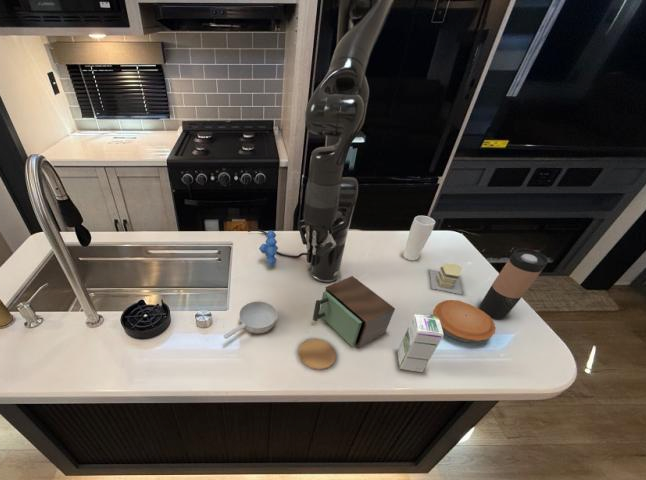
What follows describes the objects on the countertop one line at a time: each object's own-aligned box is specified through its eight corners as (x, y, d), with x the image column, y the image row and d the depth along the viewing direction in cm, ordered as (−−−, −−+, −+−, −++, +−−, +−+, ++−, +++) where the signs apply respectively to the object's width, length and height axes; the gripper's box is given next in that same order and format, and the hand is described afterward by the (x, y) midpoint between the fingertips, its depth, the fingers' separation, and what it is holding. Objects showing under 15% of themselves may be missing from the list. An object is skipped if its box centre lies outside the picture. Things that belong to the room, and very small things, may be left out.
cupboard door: (308, 319, 92) (312, 296, 86) (321, 313, 94) (326, 290, 88) (340, 352, 83) (347, 329, 77) (354, 345, 85) (362, 322, 79)
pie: (480, 358, 82) (489, 346, 79) (420, 328, 90) (427, 316, 86) (495, 326, 90) (504, 314, 87) (440, 301, 98) (446, 289, 95)
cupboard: (320, 312, 95) (325, 286, 88) (345, 300, 99) (352, 275, 92) (358, 348, 85) (367, 322, 78) (384, 333, 88) (395, 308, 82)
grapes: (258, 253, 118) (258, 224, 110) (276, 252, 118) (277, 224, 110) (259, 272, 110) (259, 242, 102) (278, 271, 110) (280, 242, 102)
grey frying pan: (284, 322, 92) (285, 313, 89) (238, 357, 82) (238, 348, 80) (258, 304, 97) (258, 295, 95) (212, 335, 88) (211, 326, 85)
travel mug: (507, 308, 96) (548, 253, 82) (506, 323, 91) (549, 268, 78) (479, 299, 99) (514, 245, 85) (476, 313, 94) (513, 258, 81)
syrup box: (423, 373, 79) (446, 334, 69) (398, 369, 80) (418, 330, 70) (419, 355, 83) (440, 316, 73) (395, 351, 84) (413, 313, 74)
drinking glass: (410, 264, 113) (426, 226, 103) (396, 254, 117) (409, 218, 107) (424, 259, 115) (440, 222, 105) (409, 250, 120) (423, 213, 109)
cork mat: (291, 349, 84) (291, 348, 84) (319, 335, 88) (319, 334, 88) (313, 375, 78) (314, 374, 78) (343, 359, 82) (343, 358, 82)
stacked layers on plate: (461, 294, 101) (469, 281, 97) (431, 288, 103) (438, 275, 99) (458, 276, 108) (465, 263, 104) (429, 271, 110) (435, 258, 106)
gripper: (356, 207, 67) (341, 272, 78) (316, 185, 75) (308, 246, 87) (328, 216, 64) (317, 282, 76) (290, 192, 72) (285, 254, 84)
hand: (312, 263), depth 81 cm, fingers closed
